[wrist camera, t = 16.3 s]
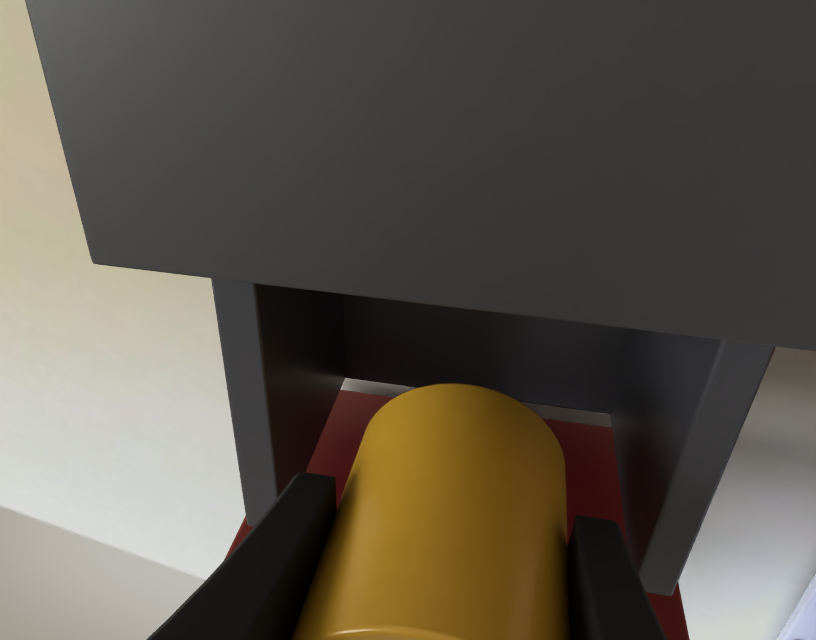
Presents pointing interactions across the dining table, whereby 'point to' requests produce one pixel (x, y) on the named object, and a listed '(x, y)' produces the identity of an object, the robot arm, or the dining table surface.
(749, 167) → the dark drawer box
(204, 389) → the dining table surface
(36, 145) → the dining table surface
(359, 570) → the yellow cylinder
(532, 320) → the drawer
